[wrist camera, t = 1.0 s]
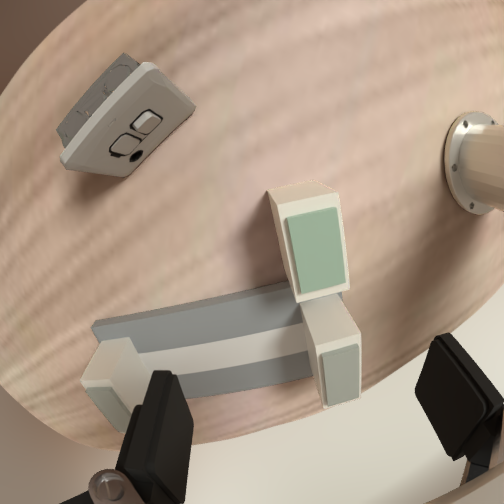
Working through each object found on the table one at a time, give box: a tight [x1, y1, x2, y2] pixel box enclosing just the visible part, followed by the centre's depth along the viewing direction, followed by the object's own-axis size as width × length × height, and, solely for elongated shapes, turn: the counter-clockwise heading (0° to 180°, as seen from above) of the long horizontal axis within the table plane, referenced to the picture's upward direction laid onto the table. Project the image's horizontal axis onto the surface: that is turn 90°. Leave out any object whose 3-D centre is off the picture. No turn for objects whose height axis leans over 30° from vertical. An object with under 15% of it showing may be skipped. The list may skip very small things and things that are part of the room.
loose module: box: [267, 180, 350, 303], centre depth 25 cm, size 4×8×8 cm, turn 13°
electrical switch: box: [56, 53, 196, 177], centre depth 20 cm, size 9×5×9 cm, turn 131°
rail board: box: [91, 281, 343, 399], centre depth 32 cm, size 28×13×2 cm, turn 103°
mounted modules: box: [80, 294, 361, 433], centre depth 28 cm, size 27×9×8 cm, turn 103°
